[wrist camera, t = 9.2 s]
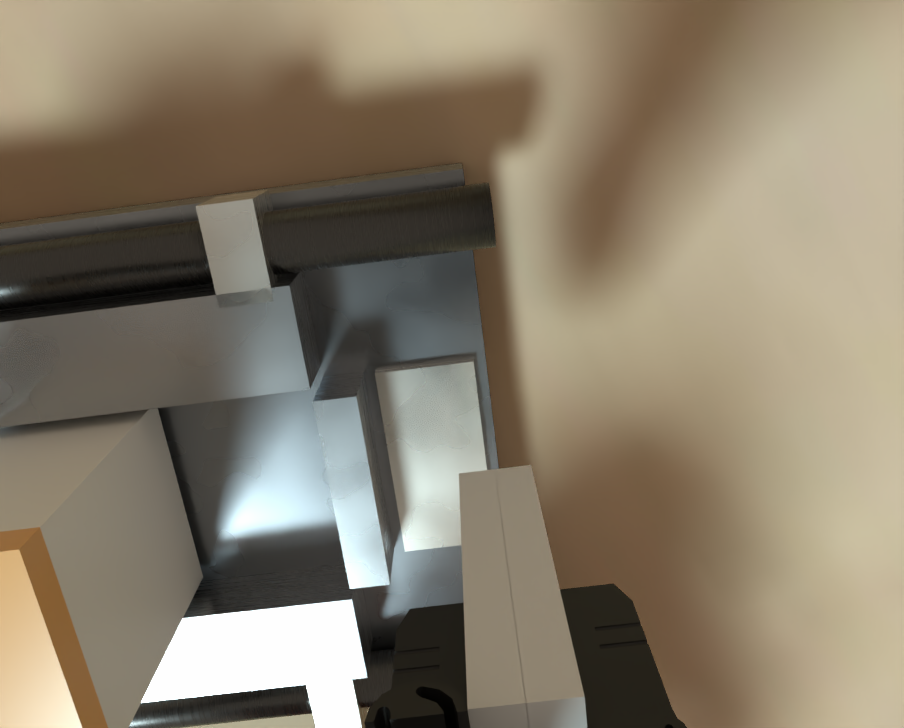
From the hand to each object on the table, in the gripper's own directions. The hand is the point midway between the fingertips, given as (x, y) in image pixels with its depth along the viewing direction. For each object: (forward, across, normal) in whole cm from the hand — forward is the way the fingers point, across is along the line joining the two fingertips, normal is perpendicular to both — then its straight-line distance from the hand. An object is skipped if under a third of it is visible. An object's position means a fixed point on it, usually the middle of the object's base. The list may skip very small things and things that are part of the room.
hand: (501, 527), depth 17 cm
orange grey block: (+4, -10, 0) cm, 11 cm away
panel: (+5, -12, 0) cm, 13 cm away
